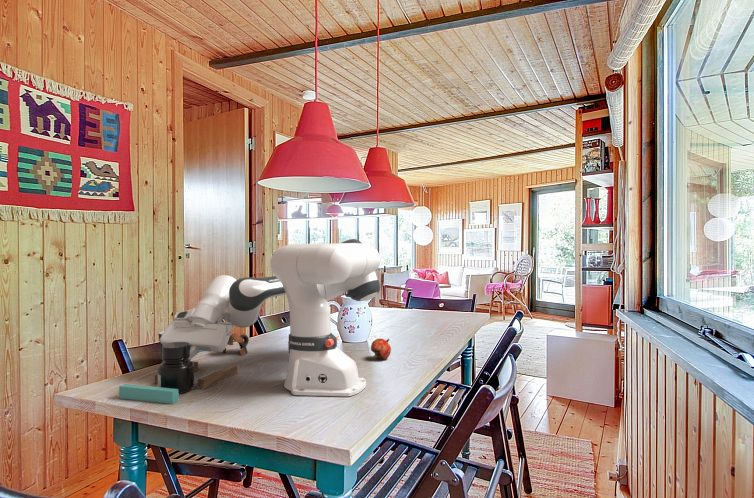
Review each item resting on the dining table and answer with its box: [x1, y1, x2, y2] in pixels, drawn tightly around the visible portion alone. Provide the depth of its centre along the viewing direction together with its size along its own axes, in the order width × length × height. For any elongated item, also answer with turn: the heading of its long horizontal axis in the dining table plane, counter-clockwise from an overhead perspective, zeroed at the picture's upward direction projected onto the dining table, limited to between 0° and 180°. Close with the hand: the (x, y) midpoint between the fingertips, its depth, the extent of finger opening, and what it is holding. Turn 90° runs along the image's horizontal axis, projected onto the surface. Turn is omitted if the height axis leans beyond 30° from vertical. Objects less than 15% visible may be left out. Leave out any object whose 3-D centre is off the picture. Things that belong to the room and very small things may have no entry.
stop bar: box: [118, 383, 179, 405], centre depth 112 cm, size 16×2×3 cm, turn 74°
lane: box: [154, 360, 239, 390], centre depth 131 cm, size 16×16×2 cm
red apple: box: [369, 338, 392, 361], centre depth 153 cm, size 7×7×10 cm
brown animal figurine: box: [221, 333, 250, 356], centre depth 163 cm, size 12×10×8 cm
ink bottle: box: [157, 342, 195, 395], centre depth 120 cm, size 10×9×12 cm
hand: (182, 361), depth 125 cm, fingers closed, pressing on ink bottle
